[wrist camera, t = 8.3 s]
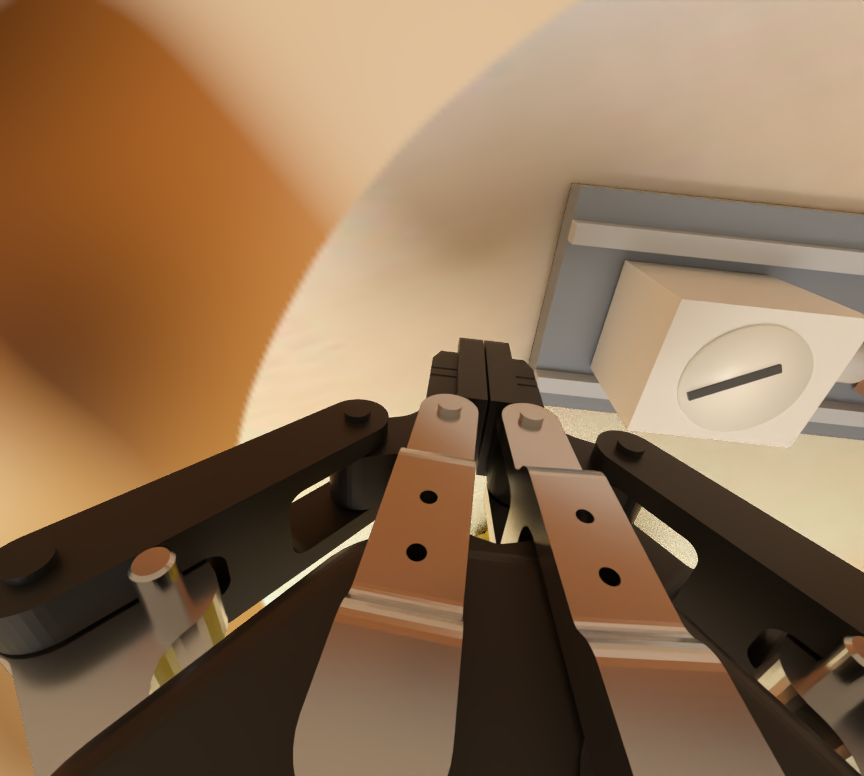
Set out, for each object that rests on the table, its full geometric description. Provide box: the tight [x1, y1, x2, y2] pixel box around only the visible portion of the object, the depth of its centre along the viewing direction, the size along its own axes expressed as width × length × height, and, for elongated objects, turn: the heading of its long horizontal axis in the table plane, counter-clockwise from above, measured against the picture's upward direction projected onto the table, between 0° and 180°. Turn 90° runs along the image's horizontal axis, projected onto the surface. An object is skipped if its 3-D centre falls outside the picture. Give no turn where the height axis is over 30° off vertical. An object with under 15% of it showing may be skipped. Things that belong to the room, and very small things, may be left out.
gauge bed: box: [529, 183, 864, 440], centre depth 15 cm, size 22×10×10 cm, turn 85°
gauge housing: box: [590, 260, 864, 448], centre depth 16 cm, size 9×5×5 cm, turn 85°
